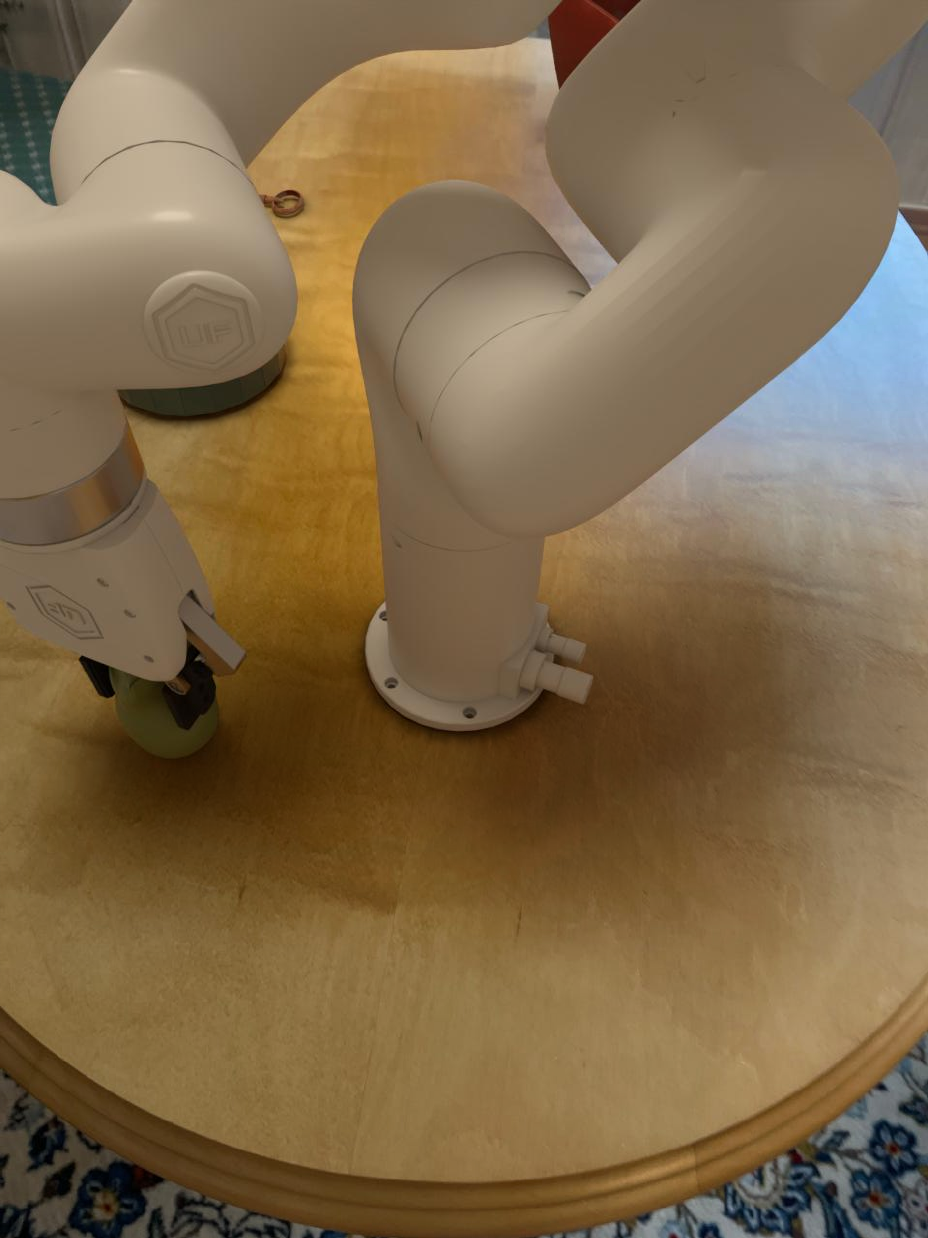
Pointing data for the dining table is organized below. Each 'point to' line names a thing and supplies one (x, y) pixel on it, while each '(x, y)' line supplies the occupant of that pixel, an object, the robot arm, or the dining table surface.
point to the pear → (157, 717)
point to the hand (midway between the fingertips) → (158, 691)
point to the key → (278, 200)
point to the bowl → (206, 392)
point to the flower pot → (582, 30)
